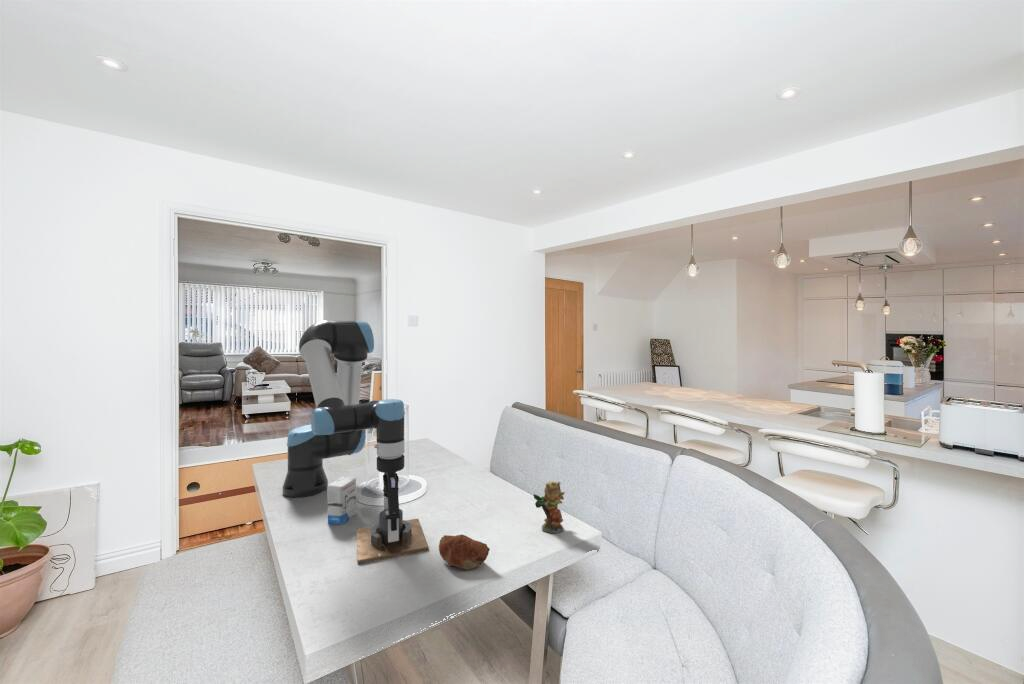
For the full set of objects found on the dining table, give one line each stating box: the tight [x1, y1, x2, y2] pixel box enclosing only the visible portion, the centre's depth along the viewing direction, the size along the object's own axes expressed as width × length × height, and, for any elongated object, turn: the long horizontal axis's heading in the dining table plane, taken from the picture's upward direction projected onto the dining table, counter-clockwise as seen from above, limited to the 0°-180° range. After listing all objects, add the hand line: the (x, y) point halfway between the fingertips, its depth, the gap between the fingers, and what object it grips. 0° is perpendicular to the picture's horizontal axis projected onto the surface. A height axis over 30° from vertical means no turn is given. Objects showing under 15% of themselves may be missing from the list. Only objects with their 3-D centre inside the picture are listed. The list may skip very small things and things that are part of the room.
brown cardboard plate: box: [356, 518, 430, 565], centre depth 117 cm, size 18×18×4 cm
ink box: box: [326, 476, 357, 525], centre depth 131 cm, size 9×5×12 cm, turn 168°
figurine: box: [533, 480, 566, 534], centre depth 124 cm, size 9×8×15 cm
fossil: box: [438, 534, 491, 570], centre depth 107 cm, size 13×8×10 cm
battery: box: [378, 508, 404, 543], centre depth 117 cm, size 6×6×7 cm
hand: (391, 529), depth 117 cm, fingers open, 13 cm apart
